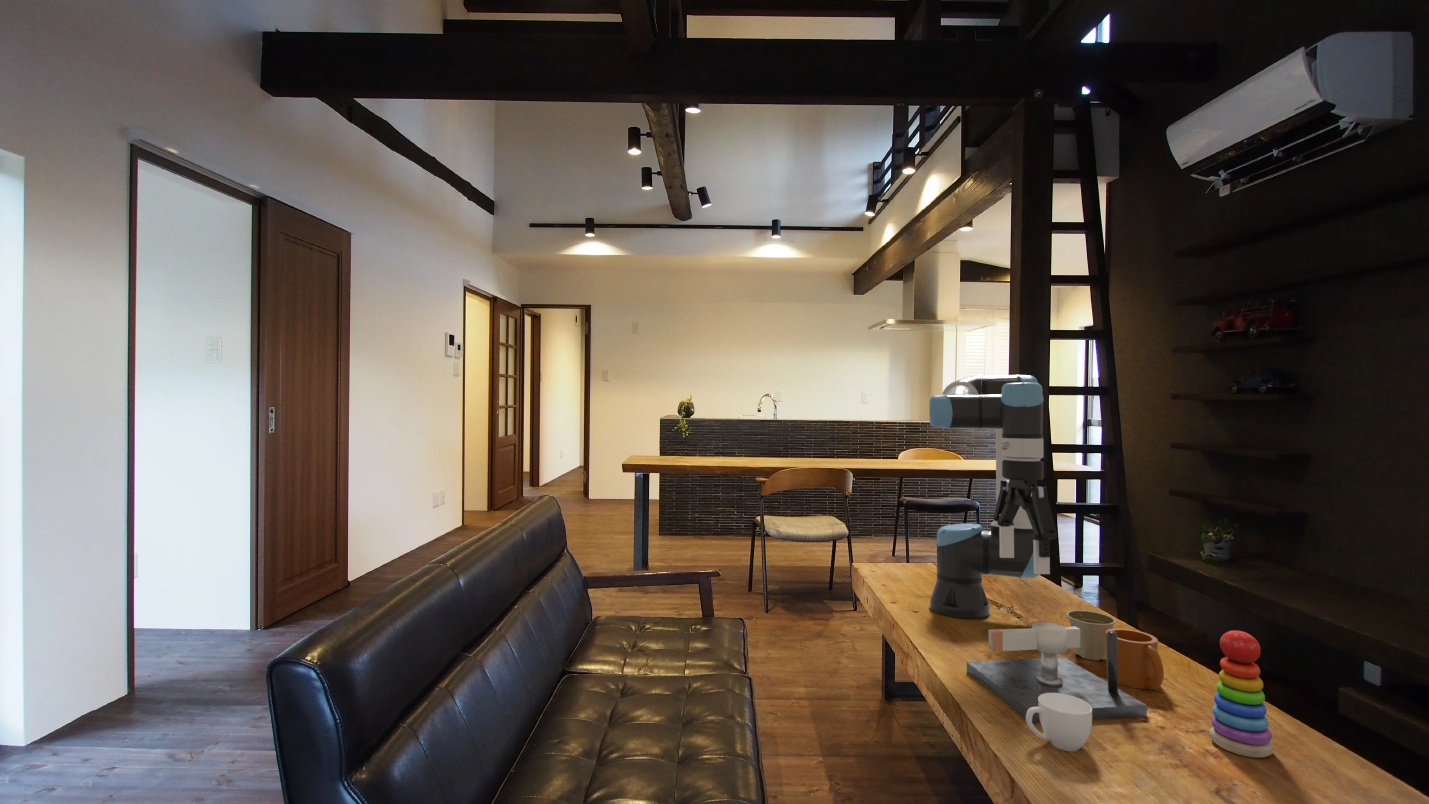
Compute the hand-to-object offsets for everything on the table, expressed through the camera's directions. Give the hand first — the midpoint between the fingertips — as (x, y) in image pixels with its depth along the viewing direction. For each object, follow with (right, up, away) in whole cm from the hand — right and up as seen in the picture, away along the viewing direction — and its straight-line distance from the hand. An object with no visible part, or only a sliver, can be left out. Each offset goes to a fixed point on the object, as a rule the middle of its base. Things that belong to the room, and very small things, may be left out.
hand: (1023, 565), depth 126 cm
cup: (-6, -23, -24) cm, 34 cm away
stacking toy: (+23, -23, -24) cm, 41 cm away
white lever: (0, -15, -5) cm, 16 cm away
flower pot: (+22, -24, +14) cm, 35 cm away
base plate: (+3, -23, -4) cm, 24 cm away
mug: (+23, -24, 0) cm, 33 cm away
